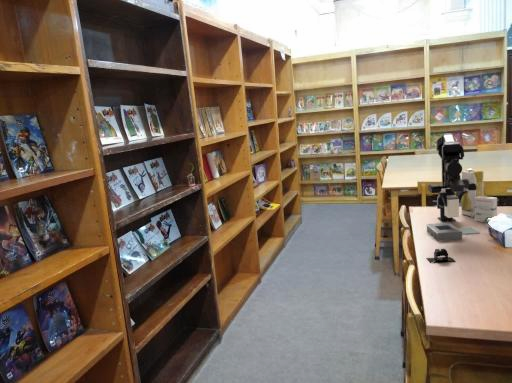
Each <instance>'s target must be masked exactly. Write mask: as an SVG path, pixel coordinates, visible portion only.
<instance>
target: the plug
mask: <svg viewBox="0 0 512 383" xmlns="http://www.w3.org/2000/svg"><path fill="white" fill-rule="evenodd" d="M444 214H445V216H446V217H448V218H454V219H455V218H460V217H459V216H460V203H459V197H458V196H456V194H455V195H449V196H447V207H445V205H444Z"/></svg>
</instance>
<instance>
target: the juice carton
mask: <svg viewBox="0 0 512 383" xmlns="http://www.w3.org/2000/svg"><path fill="white" fill-rule="evenodd" d="M484 174H485V172H484V170H475V169H473V168H467V169H466V170H462V172H461V180H463V179H468V180H469V182H473V183H475V184H476V186H477V190H468V189H467V191H468V192H467V193H465V194H464V195H463V196H462V198H461V214H462V215H465V216H468V217H471V218H475V197H478V196H484Z"/></svg>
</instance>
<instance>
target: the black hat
mask: <svg viewBox="0 0 512 383" xmlns="http://www.w3.org/2000/svg"><path fill="white" fill-rule="evenodd" d="M451 257H452V256H449V253H448V250H447V249H446V248H441V249H440V248H436V249H434V251H433V257H425V260H426V261H427V262H429V263H430V264H448V263H449V264H451V263H457V261H456V260H455V259H454V258H453V257H452V258H451Z"/></svg>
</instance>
